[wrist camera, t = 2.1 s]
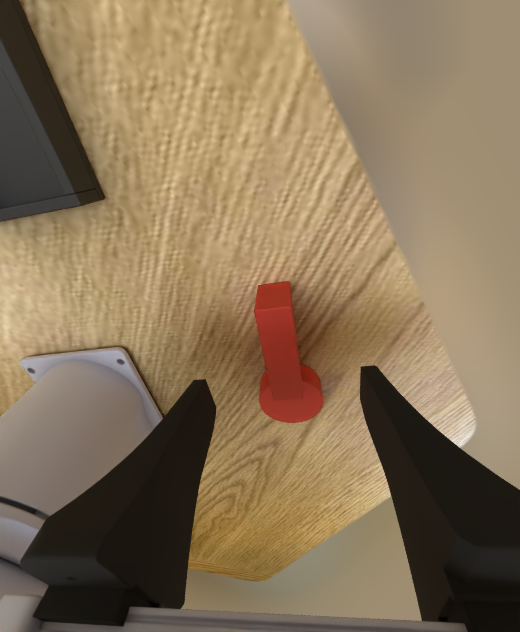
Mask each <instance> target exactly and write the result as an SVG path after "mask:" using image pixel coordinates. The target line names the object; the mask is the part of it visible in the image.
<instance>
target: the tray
mask: <svg viewBox="0 0 520 632" xmlns="http://www.w3.org/2000/svg"><path fill="white" fill-rule="evenodd" d="M102 199H105V197H104V195H103V193H102V191H101V188H100V186H99V184H98V181H97V179H96V177H95V175H94V172H93V170H92V168H91V165H90V163H89V161H88V159H87V156H86V154H85V152H84V149H83V147H82V145H81V143H80V140H79V138H78V136H77V134H76V131H75V129H74V127H73V124H72V122H71V120H70V118H69V115H68V113H67V111H66V108H65V106H64V104H63V102H62V99H61V97H60V95H59V92H58V90H57V88H56V86H55V83H54V81H53V79H52V76H51V74H50V72H49V70H48V67H47V65H46V63H45V61H44V58H43V56H42V54H41V51H40V49H39V47H38V45H37V42H36V40H35V38H34V35H33V33H32V31H31V29H30V26H29V24H28V22H27V19H26V17H25V15H24V13H23V10H22V8H21V6H20V3H19V1H18V0H0V222H1V221H6V220H11V219H16V218H21V217H26V216H32V215H37V214H42V213H47V212H52V211H57V210H62V209H68V208H73V207H78V206H82V205H86V204H89V203H92V202H96V201H99V200H102Z"/></svg>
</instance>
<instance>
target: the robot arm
mask: <svg viewBox="0 0 520 632" xmlns="http://www.w3.org/2000/svg"><path fill="white" fill-rule="evenodd" d="M121 359H122V360H121ZM20 364H21V366H22V367H23V368H24V370H25V371H26V372H27V373H28V374H29V376H30V377H31V378H32V379H33V380H34V382H35V384H34V385H33V386H32V387H31V388H30V389H29V390H28V391H27V392H26V393H24V394H23V395H22V396H21V397H20V398H19V399H18V400H17V401H16V402H15V403H14V404H13V405H12V406H11V407H10V408H9V409H8V410H7V411H6V412H5V413H4V414H3V415H2V416H1V417H0V632H520V490H519V489H517V488H516V487H514V486H513V485H511V484H510V483H508V482H507V481H505V480H504V479H502V478H500V477H499V476H498V475H496V474H495V473H493V472H492V471H490V470H489V469H488V468H486V467H485V466H484V465H482V464H481V463H479V462H478V461H477V460H475V459H474V458H472V457H471V456H470V455H468V454H467V453H466V452H464V451H463V450H462V449H461V448H459V447H458V446H457V445H455V444H454V443H453V442H452V441H450V440H449V439H448V438H447V437H446V436H444V435H443V434H442V433H441V432H440V431H438V430H437V429H436V428H435V427H434V426H433V425H432V424H431V423H429V422H428V421H427V420H426V419H425V418H424V417H423V416H422V415H421V414H420V413H419V412H418V411H417V410H416V409H415V408H414V407H413V406H412V405H411V404H410V403H409V402H408V401H407V400H406V399H405V398H404V397H403V396H402V395H401V394H400V393H399V392H398V391H397V390H396V388H395V387H394V386H393V385H392V384H391V383H390V382H389V381H388V379H387V378H386V377H385V376H384V375H383V373H382V372H381V371H380V370H379V368H378V367H377V366H375V365H374V366H362V367H361V376H360V401H361V405H362V409H363V413H364V417H365V421H366V423H367V426H368V429H369V432H370V434H371V437H372V440H373V443H374V445H375V448H376V451H377V453H378V456H379V459H380V461H381V464H382V467H383V470H384V472H385V476H386V479H387V482H388V485H389V489H390V492H391V496H392V500H393V503H394V507H395V511H396V515H397V519H398V522H399V526H400V530H401V534H402V538H403V542H404V546H405V550H406V554H407V558H408V562H409V566H410V570H411V574H412V579H413V583H414V587H415V592H416V596H417V600H418V605H419V609H420V613H421V618H422V621H409V620H408V621H407V620H389V619H369V618H368V619H367V618H348V617H329V616H308V615H307V616H306V615H289V614H287V615H286V614H268V613H249V612H228V611H209V610H189V609H181V608H182V606H183V605H184V601H185V589H186V579H187V569H188V560H189V552H190V543H191V535H192V528H193V521H194V514H195V508H196V502H197V496H198V490H199V484H200V480H201V475H202V472H203V468H204V464H205V460H206V457H207V453H208V449H209V445H210V441H211V437H212V433H213V429H214V423H215V416H216V405H215V403H214V400H213V397H212V395H211V392H210V390H209V387H208V384H207V382H206V379H203V380H193V382H192V383H191V384H190V385H189V387H188V388H187V389H186V390H185V392H184V393H183V394H182V396H181V397H180V398H179V399H178V401H177V402H176V403H175V404H174V406H173V407H172V408H171V409H170V411H169V412H168V413H167V414H166V416H165V417H164V418H163V417H162V415H161V413H160V412H159V410H158V408H157V406H156V404H155V403H154V401H153V399H152V397H151V395H150V393H149V392H148V390H147V388H146V386H145V384H144V383H143V381H142V379H141V377H140V375H139V373H138V372H137V370H136V368H135V366H134V364H133V363H132V361H131V359H130V357H129V355H128V353H127V352H126V351H125V350H124V349H123V348H120V347H113V348H104V349H95V350H85V351H76V352H67V353H58V354H48V355H39V356H30V357H25V358H23V359H22V360H21V361H20Z"/></svg>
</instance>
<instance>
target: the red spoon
mask: <svg viewBox="0 0 520 632" xmlns="http://www.w3.org/2000/svg"><path fill="white" fill-rule="evenodd" d="M254 313H255V318H256V322H257V327H258V332H259V336H260V341H261V345H262V350H263V355H264V359H265V364H266V368H267V371H266V372H265V374H264V375H263V377H262V379H261V385H260V398H259V402H260V406H261V408H262V410H263V411H264V413H265V414H267V415H268V416H269V417H271V418H273V419H275V420H278V421H281V422H287V423H296V422H302V421H306V420H308V419H310V418H312V417H314V416H315V415H316V414H318V412H319V411H320V410H321V408H322V406H323V396H322V390H321V384H320V379H319V377H318V375H317V374H316V373H315V372H314V371H313V370H312V369H311V368H309V367H307V366H305V365H302V364H300V357H299V350H298V342H297V334H296V326H295V319H294V311H293V303H292V296H291V288H290V282H281V283H274V284H266V285H259V286H258V289H257V296H256V302H255V308H254Z"/></svg>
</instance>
